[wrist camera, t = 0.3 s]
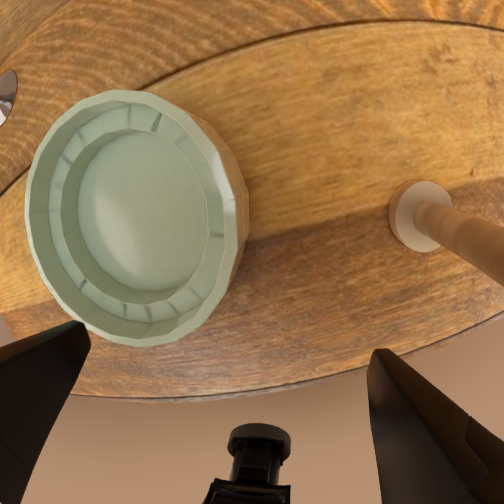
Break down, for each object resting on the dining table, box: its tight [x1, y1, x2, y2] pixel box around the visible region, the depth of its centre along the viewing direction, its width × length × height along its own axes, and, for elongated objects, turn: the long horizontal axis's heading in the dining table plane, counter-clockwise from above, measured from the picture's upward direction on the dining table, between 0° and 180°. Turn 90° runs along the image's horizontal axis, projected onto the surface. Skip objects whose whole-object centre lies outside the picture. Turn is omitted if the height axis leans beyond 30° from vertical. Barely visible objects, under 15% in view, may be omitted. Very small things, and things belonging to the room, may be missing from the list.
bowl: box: [24, 89, 250, 347], centre depth 18 cm, size 16×16×5 cm
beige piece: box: [388, 180, 504, 287], centre depth 11 cm, size 5×5×13 cm
